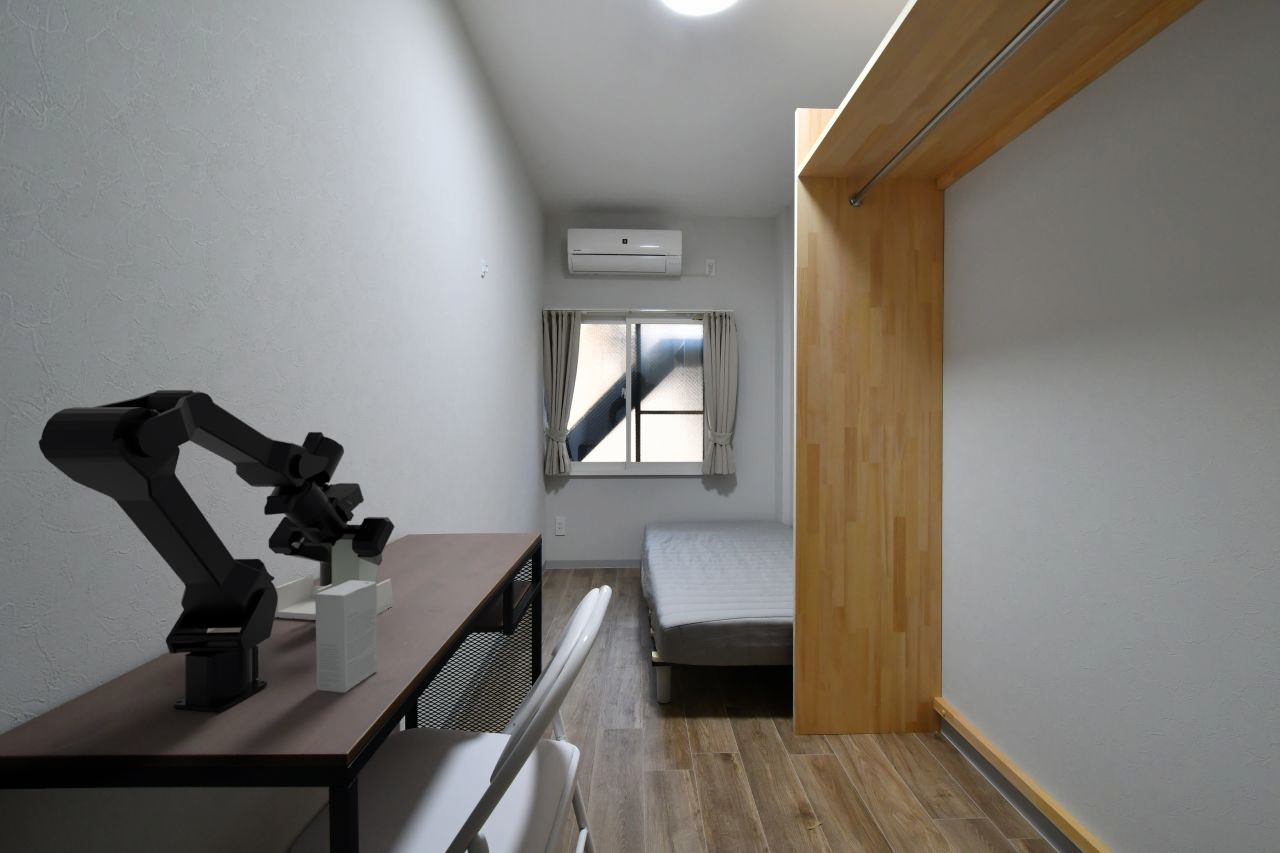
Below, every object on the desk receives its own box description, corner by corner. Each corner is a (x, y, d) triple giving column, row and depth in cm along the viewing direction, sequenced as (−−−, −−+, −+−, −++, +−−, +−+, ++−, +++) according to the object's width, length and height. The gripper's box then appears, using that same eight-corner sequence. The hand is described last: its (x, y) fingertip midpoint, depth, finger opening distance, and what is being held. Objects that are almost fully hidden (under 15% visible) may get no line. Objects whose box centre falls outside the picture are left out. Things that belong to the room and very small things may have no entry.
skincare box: (350, 668, 70) (350, 579, 70) (378, 671, 69) (378, 581, 69) (313, 690, 64) (313, 593, 64) (343, 694, 63) (343, 595, 63)
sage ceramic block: (359, 613, 88) (358, 536, 88) (331, 611, 89) (331, 535, 89) (377, 603, 93) (377, 530, 93) (351, 602, 94) (351, 529, 94)
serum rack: (361, 622, 86) (361, 592, 86) (274, 617, 89) (274, 587, 89) (392, 606, 94) (392, 578, 94) (310, 601, 97) (310, 574, 97)
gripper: (387, 468, 85) (423, 524, 96) (282, 468, 87) (328, 522, 98) (356, 526, 77) (398, 579, 88) (240, 523, 79) (296, 576, 90)
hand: (355, 562), depth 91 cm, fingers open, 9 cm apart
